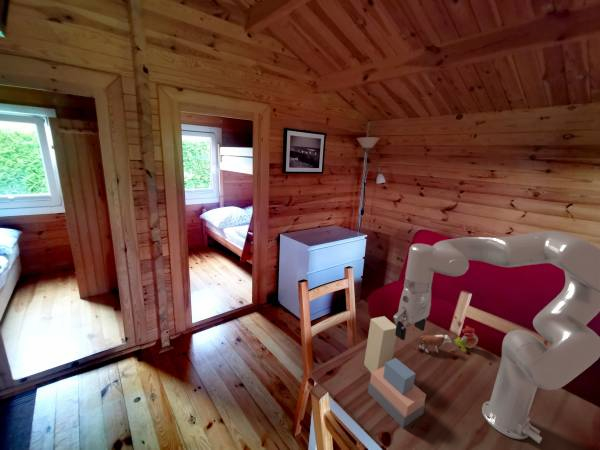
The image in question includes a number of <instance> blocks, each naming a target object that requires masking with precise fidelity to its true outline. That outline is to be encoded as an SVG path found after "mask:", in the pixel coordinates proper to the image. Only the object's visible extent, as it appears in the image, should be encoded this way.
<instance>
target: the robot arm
mask: <svg viewBox="0 0 600 450" xmlns="http://www.w3.org/2000/svg"><path fill="white" fill-rule="evenodd" d="M408 250H409V251H408V258H407V263H406V269H405V276H404V283H403V290H402V292H401V296H400V299H399V303H398V305H399V306H398V311H397V312H396V313H395V314H394V315H393V317H392V318H393V324H394V325H395V326H396V332H395V335H396V338H398V339H400V340H401V341H404V340H406V334H407V328H406V327H407V326H408V324H409V325H410V324H411V325H412V324H414V325H413V326H414V327H415V328H416V329H418V330H420V331H423V332H424V331H425V327H426V320H427V318H428V317H429V316H430V312H431V306H432V303H431V302H432V284H433V277H434V273H438V274H441V275H445V276H449V277H459V276H463V275H464V274H466V273H467V271H468V270H469V267H470V263H469V261H476V262H477V261H478V262H484V263H487V264H491V265H494V266H499V267H503V268H515V267H523V266H531V265H540V264H551V265H553V266H555V267H557V268H559V269H561V270H563V273H564V277H565V278H564V279H565V281H564V282H565V283H564V287H563V288H562V290H561V292H560V293H558V294H557V296H556V297H554V299H552V300H551V301H550V302H549V303H548V304H547V305H546V306H544V307H543V309H541V310H540V311H539V312H538V313H537V314H536V315H535V316H534V318H533V320H532V325H533V328H534V329H535V331H536V332H537V333H538V334H539V335H540V336H542V338H543V339H545V340H546V342H548V343H549V344H550V346H549V347H548V346H547V345H546V344H545V343H544V342H543V341H542V340H540V338H538V337H537V336H535V335H534V334H533V333H531V332H529V331H527V330H523V329H515V330H514V329H513V330H511V331H509V332H508V333H506V335H505V336H504V338H503V340H502V345H501V360H500V365H499V368H498V371H497V376H496V378H495V382H494V385H493V390H492V393H491V397H490V400H487V401H485V402H484V403H483V404H482V406H481V413H482V415H483V417H484V419H485V420H486V421H487V423H488V424H489V425H490V426H491V427H492V428H494V429H495V430H497V431H498V432H499V433H501V434H503V435H504V436H507V437H509V438H511V439H515V440H525V439H527V438H529V437H530V438H531V439H532V440H534V441H535V442H536V443H538V445H539V444H540V443H541V442H542V440H543V437H542V436H541V435H540V433H541V430H539V429H538V428H536V427H535V426H533V425H532V423H530V421H531V417H530V416H529V413H530V411H531V408H532V405H533V401H534V398H535V395H536V393H537V389H538V388H540V389H542V390H545V391H546V390H547V391H553V390H559V389H560V388H563V387H564V386H566V385H567V384H569V383H570V382H571V381H573V380H574V379H575V378H577V377H578V376H579V375H580V374H582V373H583V372H584V371H586V369H588V368H589V367H591V366H592V365H593V364H594V363H595V362H596V361H598V360H599V358H600V336H599V335H598V334H597V333H596V332H595V331H594V330H593V329H591V328H590V327H589V326H587V325H588V324H589V323H590V322H591V321H592V320H593V318H595V317H596V316H597V315H598V314H599V313H600V248H599V247H598V246H596V245H594V244H593V243H591V242H589V241H587V240H584V239H582V238H579V237H576V236H574V235H570V234H569V233H565V232H562V231H558V230H546V231H539V232H538V231H537V232H531V233H530V232H529V233H525V234H524V233H523V234H515V235H509V236H503V237H493V236H492V237H490V236H488V237H485V236H484V237H479V236H478V237H475V236H469V237H467V236H466V237H456V238H450V239H443V240H440V241H438V242H435V243H434V244H433V245H430V244H425V243H414V244H411V246H410V247H409V249H408ZM402 320H403V321H404V322H403V323H402V322H401V321H402Z"/></svg>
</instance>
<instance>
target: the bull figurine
mask: <svg viewBox="0 0 600 450" xmlns="http://www.w3.org/2000/svg"><path fill="white" fill-rule="evenodd" d="M419 337H420V338H419V341H420V342H419V343H418V345H419V347H418V348H419V349H420V350H423V351H424V350H425V352H426V353H427V354H429V353H430V351H429V350H428V347H435V351H434V352H436V353H439V349H440V348H441V346H442V345H444V344H445V343H446V344H447V343H449V344H452V342H453V341H452V339H451V338H450V336H449V335H448V334H447V333H445V334H444V335H443V334H434V335H421V336H419Z"/></svg>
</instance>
